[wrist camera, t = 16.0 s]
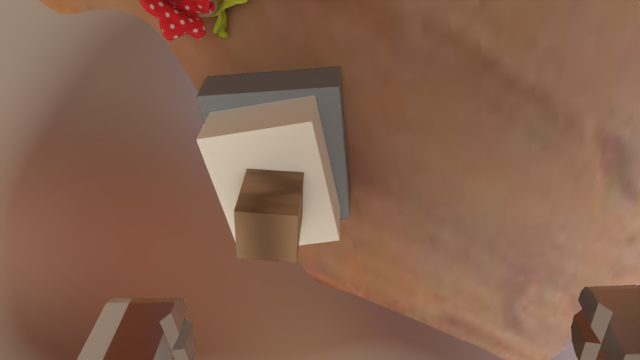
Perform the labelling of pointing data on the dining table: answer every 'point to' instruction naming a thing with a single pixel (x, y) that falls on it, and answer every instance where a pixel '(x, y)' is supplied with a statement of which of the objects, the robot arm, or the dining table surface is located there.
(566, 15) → the dining table surface
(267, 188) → the walnut block
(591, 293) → the robot arm
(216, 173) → the tower top
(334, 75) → the tower base
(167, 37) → the bird rattle
